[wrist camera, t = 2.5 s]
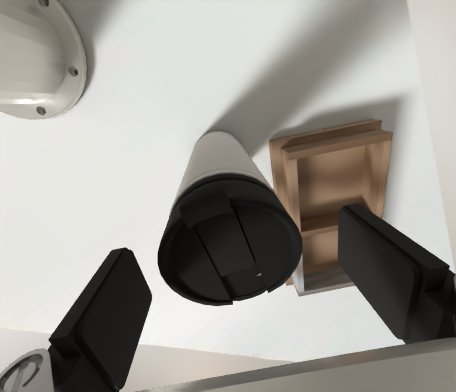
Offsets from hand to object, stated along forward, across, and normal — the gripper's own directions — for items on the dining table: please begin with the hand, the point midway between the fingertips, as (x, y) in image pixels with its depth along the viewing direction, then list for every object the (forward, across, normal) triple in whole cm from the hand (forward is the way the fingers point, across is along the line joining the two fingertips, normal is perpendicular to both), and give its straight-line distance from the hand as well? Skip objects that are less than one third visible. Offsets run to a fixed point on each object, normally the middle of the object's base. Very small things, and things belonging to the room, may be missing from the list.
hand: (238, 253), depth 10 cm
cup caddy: (+19, -12, +10) cm, 25 cm away
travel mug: (+19, +1, 0) cm, 19 cm away
